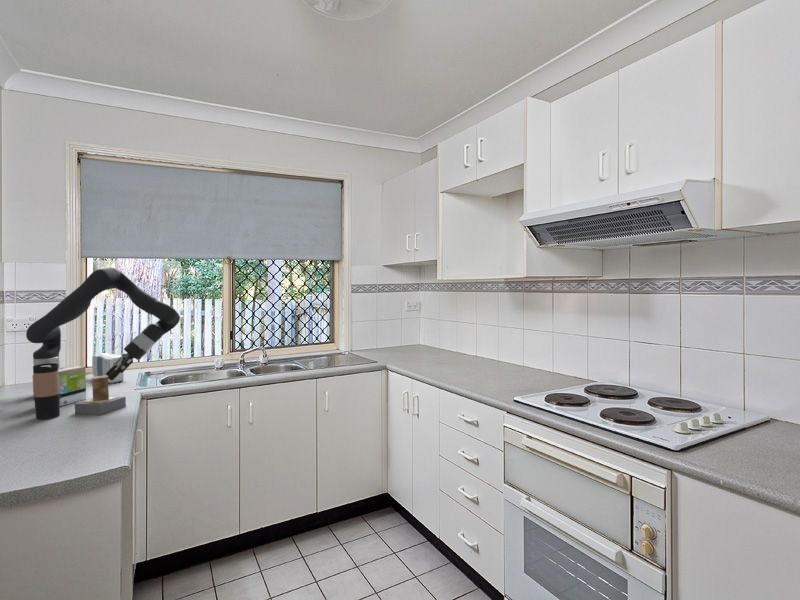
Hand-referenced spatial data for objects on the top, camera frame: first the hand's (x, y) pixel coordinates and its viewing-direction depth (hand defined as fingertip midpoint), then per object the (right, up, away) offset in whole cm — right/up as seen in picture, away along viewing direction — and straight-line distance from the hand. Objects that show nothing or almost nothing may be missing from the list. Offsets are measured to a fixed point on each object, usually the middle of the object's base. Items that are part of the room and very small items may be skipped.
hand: (108, 377), depth 181 cm
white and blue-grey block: (-33, -11, +51) cm, 62 cm away
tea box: (-26, -13, +9) cm, 30 cm away
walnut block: (-2, -9, -1) cm, 9 cm away
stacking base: (-2, -13, -1) cm, 13 cm away
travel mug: (-17, -14, -10) cm, 24 cm away
